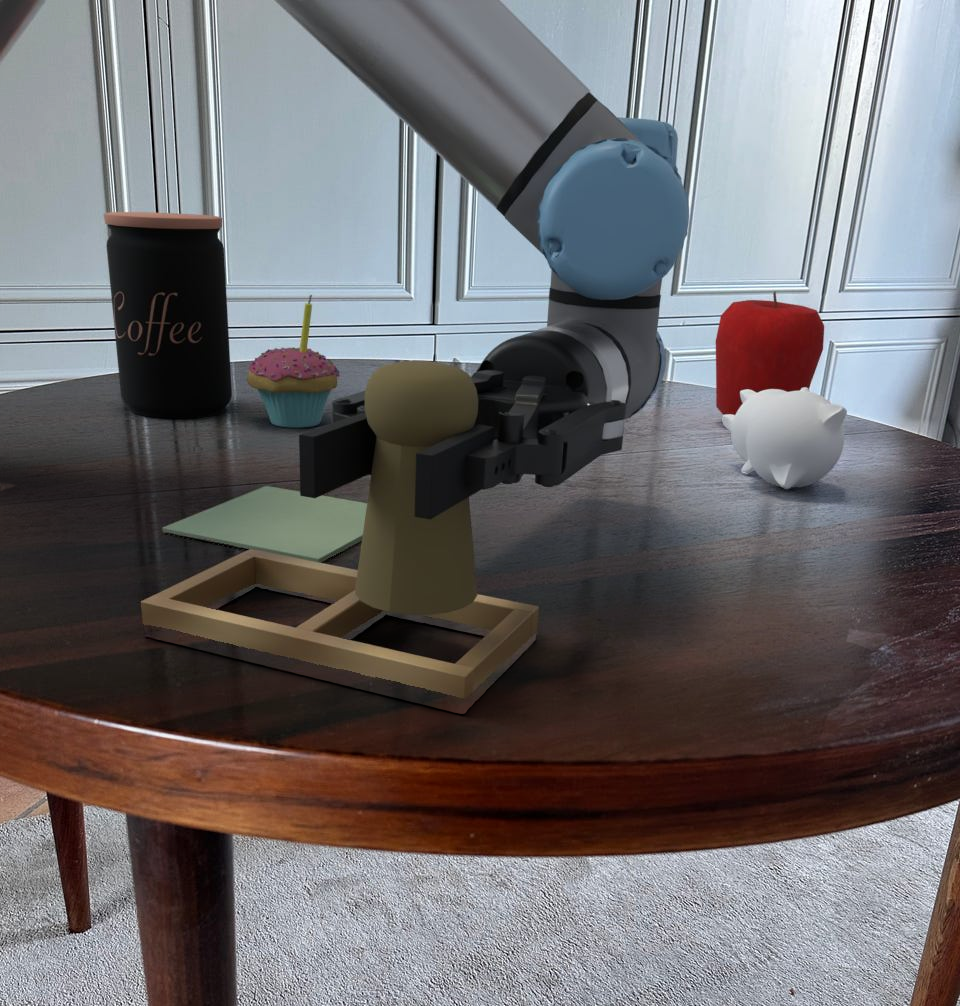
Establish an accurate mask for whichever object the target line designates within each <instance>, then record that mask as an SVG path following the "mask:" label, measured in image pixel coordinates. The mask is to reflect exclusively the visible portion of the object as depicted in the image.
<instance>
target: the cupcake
mask: <svg viewBox="0 0 960 1006" xmlns="http://www.w3.org/2000/svg"><path fill="white" fill-rule="evenodd" d="M312 297H313V295H312V294H309V297H308V302H305V303H304V309H303V316H302V317H303V320H302V327H301V335H300V344H299V347H282V346H281V348H277V347H275V348H274V349H267V350H266V351H264V352H261V354H260V355H259V356H258V357H255V358H254V360H253V361H251V362H250V365H249V366H248V372H247V378H246V379H247V384H248V385H249V386H250V387H251V388H254V389H256V391H257V392H258V393H259V395H260V397H261V399H262V402H263V404H264V406H265V409H266V412H267V415H268V418H269V421H270V423H271V424H272V425H273V426H276V427H282V428H288V429H289V428H291V429H298V428H299V429H302V428H310V427H315V426H318V425H319V424H321V421H322V417H323V413H324V410H325V407H326V403H327V401H328V398H329V396H330V394H331V391H332V390H333V389H336V388H337V387H338V377H340V376H341V375H340V370H339V368H337V366H336V365H334V363H333V361H332V360H331V359H329V358H327V357H326V356H325V355H323V354H321V353H319V351H314V350H312V348H308V343H309V334H310V328H311V327H310V326H311V318H312V309H313V304H312V303H311V302H312Z"/></svg>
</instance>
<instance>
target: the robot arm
mask: <svg viewBox="0 0 960 1006" xmlns="http://www.w3.org/2000/svg"><path fill="white" fill-rule="evenodd" d="M47 1H48V0H0V65H1V64H2V62H3V61H5V58H6V57H7V56H8V54H9V53H10V52H11V51H12V49H13V47H14V46H15V45H16V44H17V42H18V40H19V39H20V38H21V37H22V35H23V34H24V32H25V31H26V30H27V28H28V27H29V26H30V25H31V23H32V22H33V20H34V19H35V17H36V16H37V15H38V13H39V12H40V11H41V10H42V8H43V7H44V5H45V4H46V3H47ZM274 2H276V3H277V5H279V6H280V7H281V9H283V10H284V11H285V12H286V13H287V14H288V15H289V16H290V17H291V18H292V19H294V20H295V21H296V22H297V23H298V24H299V25H300V26H301V27H302V28H303V29H304V30H305V31H306V32H308V34H309V35H311V36H312V37H313V38H314V39H315V40H316V41H317V42H318V43H319V44H320V45H321V46H322V47H323V48H324V49H326V51H327V52H329V54H331V55H332V56H333V57H334V58H335V60H337V61H338V62H339V63H340V64H341V65H343V67H344V68H346V70H348V71H349V72H350V73H351V74H352V75H353V76H354V77H355V78H356V79H357V80H358V81H359V82H360V83H362V85H364V86H365V87H366V88H367V89H368V90H369V91H370V92H371V93H372V94H373V95H374V96H375V97H377V98H378V99H379V100H380V101H381V102H382V103H383V104H384V105H385V106H386V107H387V108H388V109H389V110H390V111H391V112H392V113H393V114H395V115H396V116H397V118H399V119H400V120H401V121H402V122H403V123H404V124H405V125H406V126H407V127H408V128H409V129H411V130H412V132H414V133H415V134H416V135H417V136H418V137H419V138H420V139H421V140H422V141H423V142H425V144H426V145H428V146H429V147H430V148H431V150H433V151H434V152H435V153H436V154H437V155H438V156H439V157H441V159H442V160H443V161H445V162H446V163H447V164H448V165H449V166H450V167H451V168H452V169H453V170H454V172H456V173H457V174H458V175H460V177H461V178H463V179H464V180H465V181H466V182H467V183H468V184H469V185H470V186H471V187H472V188H473V189H474V190H475V191H476V192H478V193H479V195H481V196H482V198H484V199H485V200H486V201H487V202H488V203H489V204H490V205H491V206H492V207H493V208H494V209H496V210H497V212H498V213H500V214H501V215H502V216H503V217H504V220H506V221H507V222H508V223H509V224H510V225H511V226H512V227H513V228H514V229H515V230H516V231H517V232H518V233H519V234H521V235H522V236H523V237H524V238H525V239H526V240H527V242H528V243H530V244H531V245H532V246H533V247H534V248H535V249H536V250H538V252H540V253H541V254H542V255H543V257H545V260H546V262H547V264H548V266H549V269H550V287H549V290H548V291H549V292H548V304H547V305H548V307H547V320H546V326H545V327H541V328H538V329H536V330H534V331H531V332H528V333H525V334H520V335H518V336H513V337H511V338H509V339H506V340H504V341H503V342H501V343H499V344H498V345H497V346H495V347H494V348H493V349H491V351H489V353H487V355H486V356H485V357H484V358H483V360H482V361H481V363H480V365H479V366H478V368H477V369H476V371H475V372H474V373H473V374H472V375H470V377H471V379H472V381H473V383H474V385H475V387H476V390H477V396H478V414H477V417H476V421H475V424H474V427H473V428H471V429H469V430H466V431H464V432H462V433H460V434H457V435H455V436H453V437H451V438H449V439H446V440H444V441H442V442H440V443H437V444H435V445H433V446H431V447H429V448H426V449H424V450H422V451H420V452H417V453H416V477H415V515H414V517H419V518H425V519H430V520H431V519H432V518H434V517H436V516H437V515H439V514H441V513H443V512H444V511H446V510H448V509H449V508H451V507H453V506H454V505H456V504H458V503H460V502H461V501H463V500H465V499H466V498H468V497H469V498H470V497H471V496H473V495H475V494H477V493H479V492H480V491H482V490H484V491H485V490H489V489H494V488H495V487H497V486H498V485H500V484H501V483H502V484H503V485H512V484H517V483H519V482H520V481H521V479H522V477H523V476H524V475H531V476H533V475H534V483H535V484H536V485H540V486H542V487H544V488H553V487H557V486H560V485H561V484H563V483H564V482H565V481H567V480H568V479H570V478H571V477H572V476H574V475H575V474H577V473H578V472H580V471H581V470H582V469H584V468H585V467H586V466H589V464H590V463H592V462H594V461H595V460H596V459H598V458H599V457H600V456H602V455H606V454H611V453H615V452H619V451H622V449H623V442H624V434H625V427H626V420H627V419H630V418H632V417H633V416H634V415H636V414H638V413H639V412H641V410H642V409H643V408H645V407H646V406H647V403H648V402H649V401H650V399H652V397H653V396H654V395H655V393H657V391H658V389H659V388H660V386H661V383H662V382H663V379H664V375H665V371H666V366H667V354H666V349H665V345H664V341H663V339H662V337H661V335H660V333H659V331H658V327H659V318H660V309H661V298H662V295H661V290H662V284H663V283H662V282H663V279H664V278H665V276H667V275H668V274H669V272H670V271H671V270H672V269H673V267H674V266H675V263H676V262H677V259H678V258H679V256H680V254H681V252H682V250H683V249H684V244H685V240H686V237H687V236H688V231H689V223H690V204H689V197H688V196H689V195H688V192H687V191H686V189H685V187H684V185H683V181H682V177H681V174H680V173H679V172H678V171H679V168H678V167H677V159H678V158H677V157H678V145H679V143H678V142H679V137H678V132H677V130H676V128H675V127H674V126H673V125H672V124H671V123H669V122H666V121H660V120H656V119H648V118H637V117H619V116H616V115H615V114H614V113H613V112H612V111H611V110H610V109H609V108H608V107H607V106H606V105H604V104H603V103H602V102H601V101H600V100H599V99H597V97H595V96H594V95H593V94H592V93H591V90H590V88H589V87H588V86H586V84H584V82H583V81H582V80H580V78H578V76H576V75H575V74H574V73H573V72H572V71H571V70H570V68H569V67H567V66H566V65H565V63H563V61H561V60H560V59H559V57H557V55H555V54H554V53H553V52H552V51H551V50H550V49H549V48H548V47H547V45H545V44H544V42H542V41H541V39H539V38H538V37H537V36H536V35H535V33H534V32H532V31H531V30H530V28H528V27H527V26H526V25H525V24H524V23H523V21H521V20H520V19H519V18H518V17H517V15H516V14H514V13H513V12H512V11H511V10H510V9H509V8H508V6H506V5H505V4H504V3H503V2H502V1H501V0H274ZM365 391H366V390H363V391H359V392H356V393H353V394H350V395H346V396H343V397H338V398H337V399H333V400H332V401H331V407H332V408H331V410H332V411H331V413H332V414H331V416H332V417H331V420H332V422H331V423H328V424H326V425H323V426H320V427H317V428H314V429H311V430H308V431H305V432H302V433H299V434H298V455H299V458H298V459H299V492H300V496H304V497H310V498H317V497H319V496H325V495H326V494H328V493H330V492H332V491H333V492H334V491H335V490H337V489H339V488H342V487H344V486H346V485H348V484H350V483H353V482H355V481H357V480H360V479H362V478H364V477H367V476H371V472H372V465H373V458H374V451H375V444H376V437H377V436H376V435H375V433H374V432H373V430H372V429H371V427H370V426H369V424H368V421H367V417H366V413H365Z"/></svg>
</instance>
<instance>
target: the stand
mask: <svg viewBox="0 0 960 1006" xmlns="http://www.w3.org/2000/svg"><path fill="white" fill-rule="evenodd" d="M357 573H358V569H354V568H348V567H345V566H338V565H334V564H329V563H325V562H323V563H319V562H314V561H309V560H304V559H299V558H294V557H289V556H284V555H279V554H274V553H269V552H264V551H259V550H254V549H249V550H244V551H242V552H241V553H239V554H237V555H234V556H232V557H230V558H228V559H226V560H224V561H222V562H220V563H218V564H216V565H214V566H211V567H209V568H207V569H205V570H203V571H201V572H199V573H197V574H195V575H193V576H191V577H189V578H186V579H184V580H183V581H180V582H178V583H176V584H174V585H172V586H170V587H168V588H166V589H164V590H161V591H160V592H158V593H156V594H153V595H152V596H150V597H147V598H145V599H143V600H141V601H140V608H141V609H140V610H141V616H142V617H141V618H142V625H143V624H144V625H151V626H156V627H162V628H167V629H172V630H176V631H180V632H183V633H188V634H191V635H194V636H196V635H197V636H200V637H204V638H206V639H207V638H208V639H212V640H215V641H218V642H219V641H220V642H224V643H229V644H233V645H236V646H239V647H241V646H242V647H245V648H248V649H250V648H251V649H255V650H258V651H261V652H262V651H263V652H268V653H271V654H275V655H280V656H285V657H288V658H290V657H291V658H295V659H299V660H302V661H306V662H310V663H314V664H317V665H319V664H320V665H324V666H328V667H332V668H336V669H342V670H343V669H344V670H348V671H352V672H356V673H360V674H361V675H365V676H370V677H374V678H375V677H378V678H382V679H386V680H391V681H396V682H400V683H402V684H406V685H410V686H415V687H420V688H425V689H427V690H431V691H436V692H441V693H443V694H447V695H452V696H456V697H459V698H466V697H467V696H468V695H469V694H470V693H471V692H473V691H474V690H475V689H476V688H477V687H478V686H479V685H480V684H481V683H483V682H484V681H485V680H486V679H487V678H488V677H489V676H490V675H491V674H492V673H493V672H494V671H496V670H497V668H498V667H499V666H500V665H501V664H503V663H504V662H505V661H506V660H507V659H508V658H509V657H511V656H512V655H513V653H515V652H516V651H517V650H518V649H519V648H520V647H522V645H523V644H525V643H526V642H527V641H528V640H529V639H530V637H532V636H533V635H534V634H536V632H537V633H538V626H539V625H538V623H539V610H540V608H539V605H534V604H528V603H523V602H519V601H515V600H509V599H503V598H498V597H494V596H489V595H484V594H478V593H477V597H476V598H475V600H474V602H473V603H471V604H469V605H468V606H466V607H464V608H462V609H459V610H455V611H452V612H448V613H441V614H433V615H423V616H428V617H432V618H436V619H437V618H440V619H444V620H449V621H453V622H458V623H463V624H467V625H472V626H475V627H479V628H483V629H488V630H492V631H491V632H489V633H488V634H487V635H486V636H485V637H482V639H481V640H479V641H478V642H477V643H476V644H475V645H474V646H473V647H472V648H470V649H469V650H468V651H467V652H466V653H465V654H463V656H462V657H461V658H460V659H458V660H457V661H456V662H455V663H452V662H448V661H445V660H444V661H443V660H439V659H435V658H430V657H426V656H422V655H417V654H414V653H413V654H412V653H409V652H404V651H400V650H395V649H391V648H387V647H383V646H377V645H375V644H374V645H373V644H370V643H364V642H360V641H356V640H347V639H343V638H340V637H342V636H344V635H346V634H347V633H349V632H351V631H352V630H353V629H356V628H357V627H359V626H360V625H361V624H364V623H366V622H367V621H368V620H370V619H372V618H374V617H375V616H377V615H378V614H380V613H381V612H382V611H383V610H380V609H376V608H373V607H371V606H369V605H367V604H365V603H364V602H362V601H361V600H360V599H359V598H358V597H357V596H356V595H355V587H356V580H357ZM254 584H261V585H264V586H269V587H273V588H276V589H281V590H287V591H292V592H298V593H304V594H307V595H313V596H316V597H317V596H319V597H322V598H328V599H333V600H338V601H337V602H335V603H334V604H330V605H329V606H328V607H326V608H324V609H322V610H320V611H319V612H318V613H316V614H315V615H313V616H311V617H310V618H309V619H307V620H305V621H303V622H302V623H300V624H299V625H298V626H296V627H294V626H290V625H286V624H281V623H277V622H272V621H267V620H263V619H260V618H254V617H250V616H245V615H242V614H237V613H233V612H229V611H224V610H219V609H217V610H216V609H211V608H207V607H204V606H206V605H208V604H210V603H213V602H215V601H218V600H219V599H222V598H225V597H227V596H229V595H231V594H233V593H236V592H239V591H240V590H243V589H244V588H247V587H249V586H251V585H254Z"/></svg>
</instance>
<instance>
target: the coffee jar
mask: <svg viewBox="0 0 960 1006" xmlns="http://www.w3.org/2000/svg"><path fill="white" fill-rule="evenodd" d="M103 219H104V224H106V225H107V227H108V228H109V230H110V236H109V237H108V239H107V240H106V254H107V256H106V257H107V267H108V274H109V275H108V276H109V286H110V296H111V306H112V318H113V327H114V337H115V348H116V357H117V368H118V369H117V370H118V378H119V380H118V381H119V389H120V397H121V399H122V402H124V404H126V406H127V407H128V409H129V411H130V412H131V413H133V414H135V415H139V416H142V417H143V416H144V417H149V418H158V419H159V418H160V419H193V418H203V417H210V416H214V415H218V414H221V413H223V412H225V411H226V409H227V406H228V405H229V404H230V403H231V399H232V397H233V390H232V372H231V371H232V369H231V354H230V353H231V352H230V334H229V333H230V332H229V313H228V299H227V298H228V297H227V296H228V295H227V278H226V260H225V247H224V243H223V242H222V240H220V238H219V233H220V230H221V228H223V217H221V216H217V215H208V214H193V213H175V212H174V213H173V212H151V211H150V212H147V211H144V212H143V211H109V212H104V213H103Z"/></svg>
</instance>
